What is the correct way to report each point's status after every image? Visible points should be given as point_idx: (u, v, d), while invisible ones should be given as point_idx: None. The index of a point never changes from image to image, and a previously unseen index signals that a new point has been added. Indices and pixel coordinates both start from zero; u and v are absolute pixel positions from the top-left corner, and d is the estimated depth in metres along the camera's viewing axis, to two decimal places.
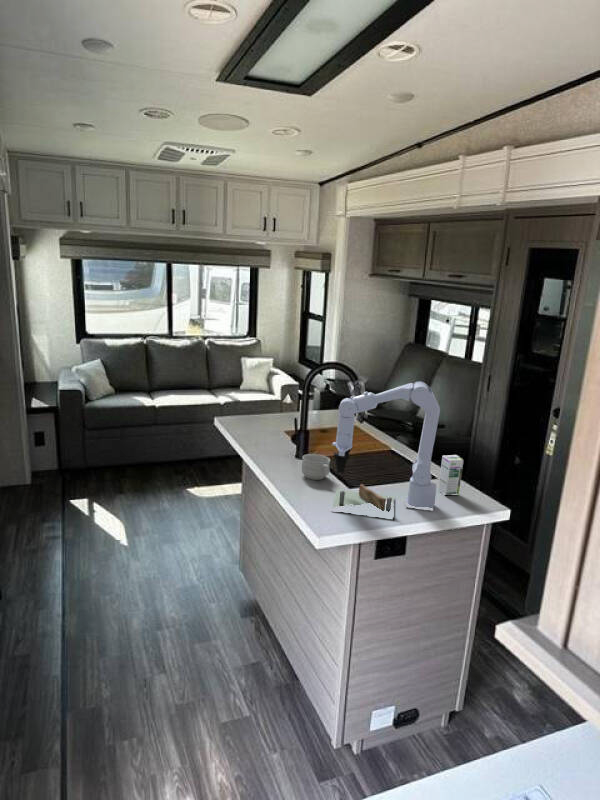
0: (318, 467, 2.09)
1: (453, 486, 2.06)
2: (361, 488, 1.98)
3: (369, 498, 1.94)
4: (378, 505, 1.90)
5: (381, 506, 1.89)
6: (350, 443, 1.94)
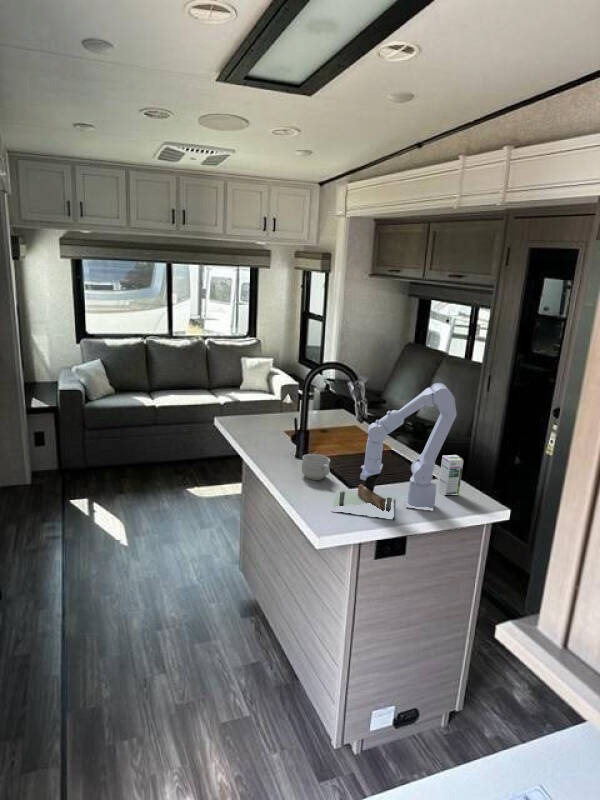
0: (318, 467, 2.09)
1: (453, 486, 2.06)
2: (360, 488, 1.97)
3: (368, 498, 1.94)
4: (378, 505, 1.90)
5: (381, 506, 1.88)
6: (376, 468, 1.92)
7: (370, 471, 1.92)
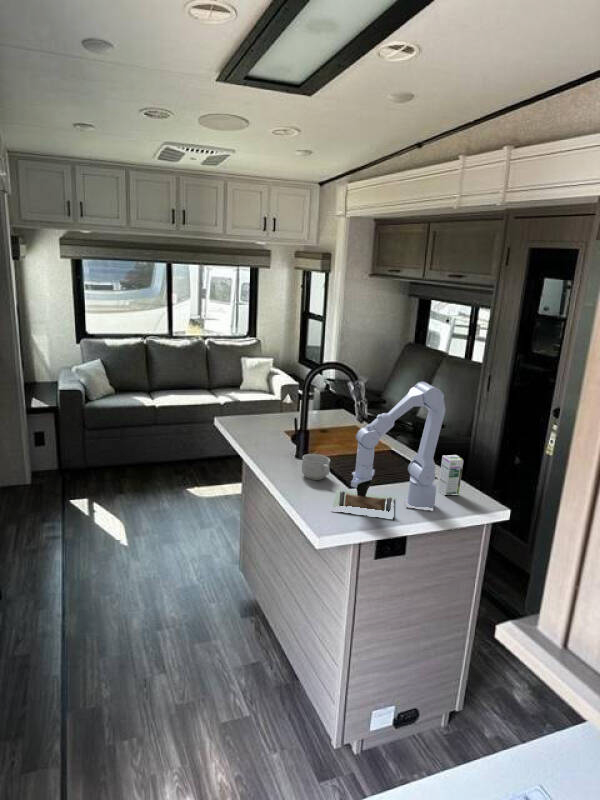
0: (318, 467, 2.09)
1: (453, 486, 2.06)
2: (348, 497, 1.89)
3: (362, 504, 1.89)
4: (377, 507, 1.88)
5: (382, 507, 1.88)
6: (368, 475, 1.86)
7: (361, 478, 1.86)
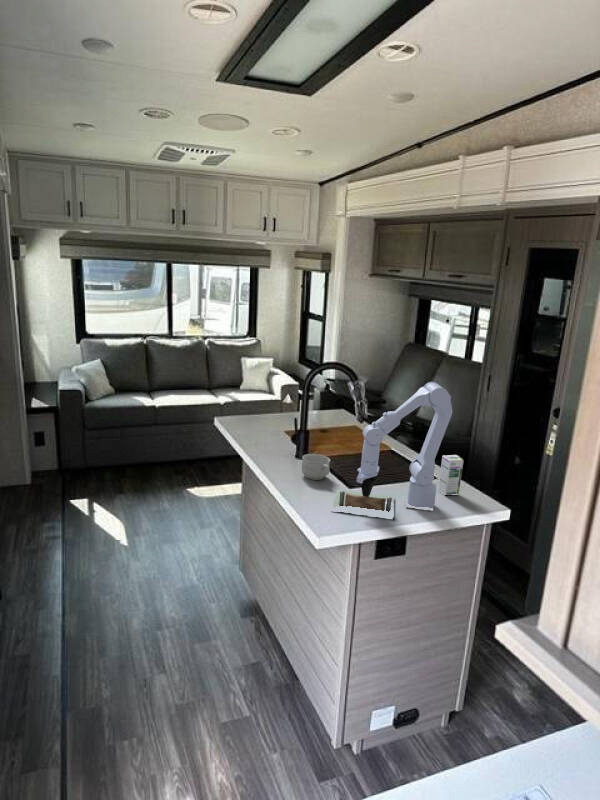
0: (318, 467, 2.09)
1: (453, 486, 2.06)
2: (348, 497, 1.89)
3: (362, 504, 1.89)
4: (377, 507, 1.88)
5: (382, 507, 1.88)
6: (373, 471, 1.90)
7: (367, 474, 1.90)
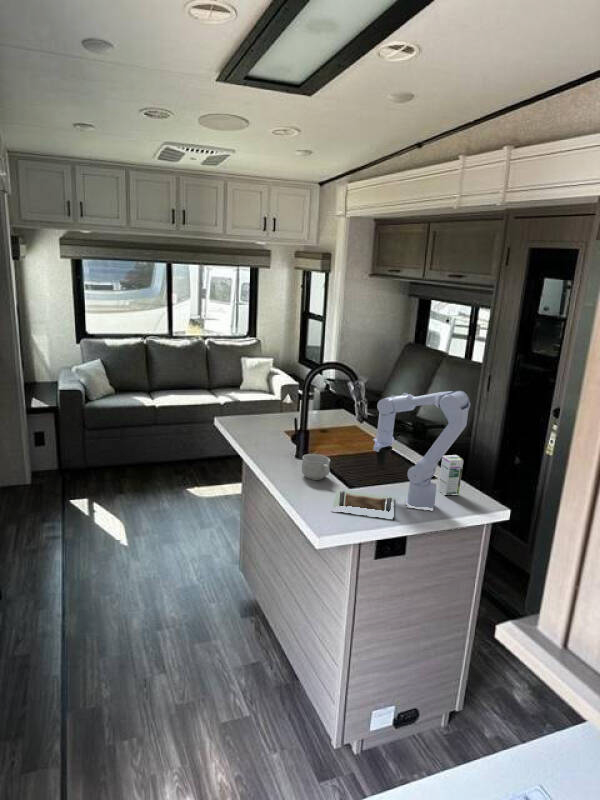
0: (318, 467, 2.09)
1: (453, 486, 2.06)
2: (348, 497, 1.89)
3: (362, 504, 1.89)
4: (377, 507, 1.88)
5: (382, 507, 1.88)
6: (388, 441, 1.99)
7: (382, 443, 1.99)
